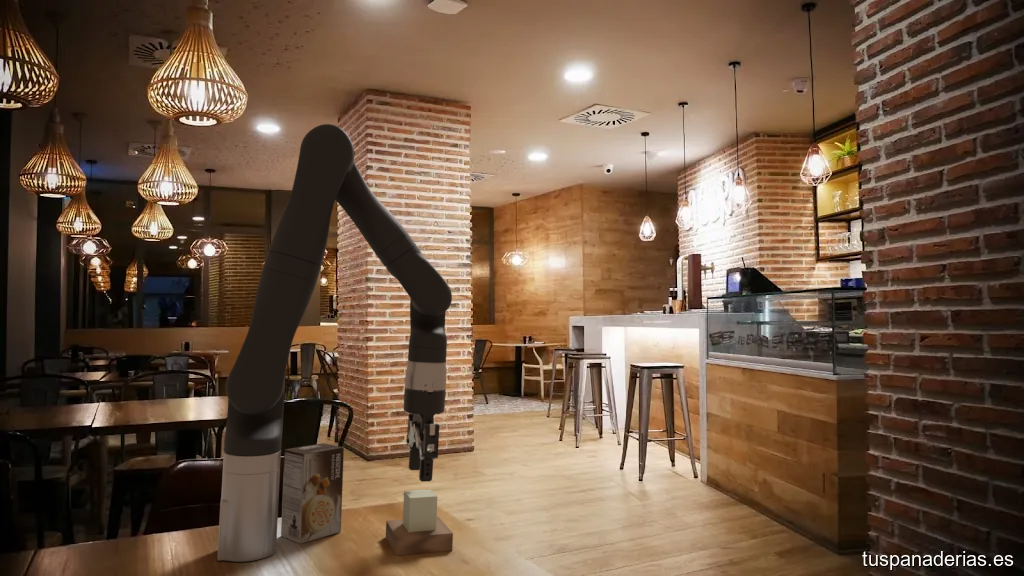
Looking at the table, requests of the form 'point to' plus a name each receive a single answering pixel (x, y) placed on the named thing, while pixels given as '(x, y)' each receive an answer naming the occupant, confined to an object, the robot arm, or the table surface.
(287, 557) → the table surface
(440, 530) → the walnut plinth
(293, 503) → the coffee box
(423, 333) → the robot arm
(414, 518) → the sage block
